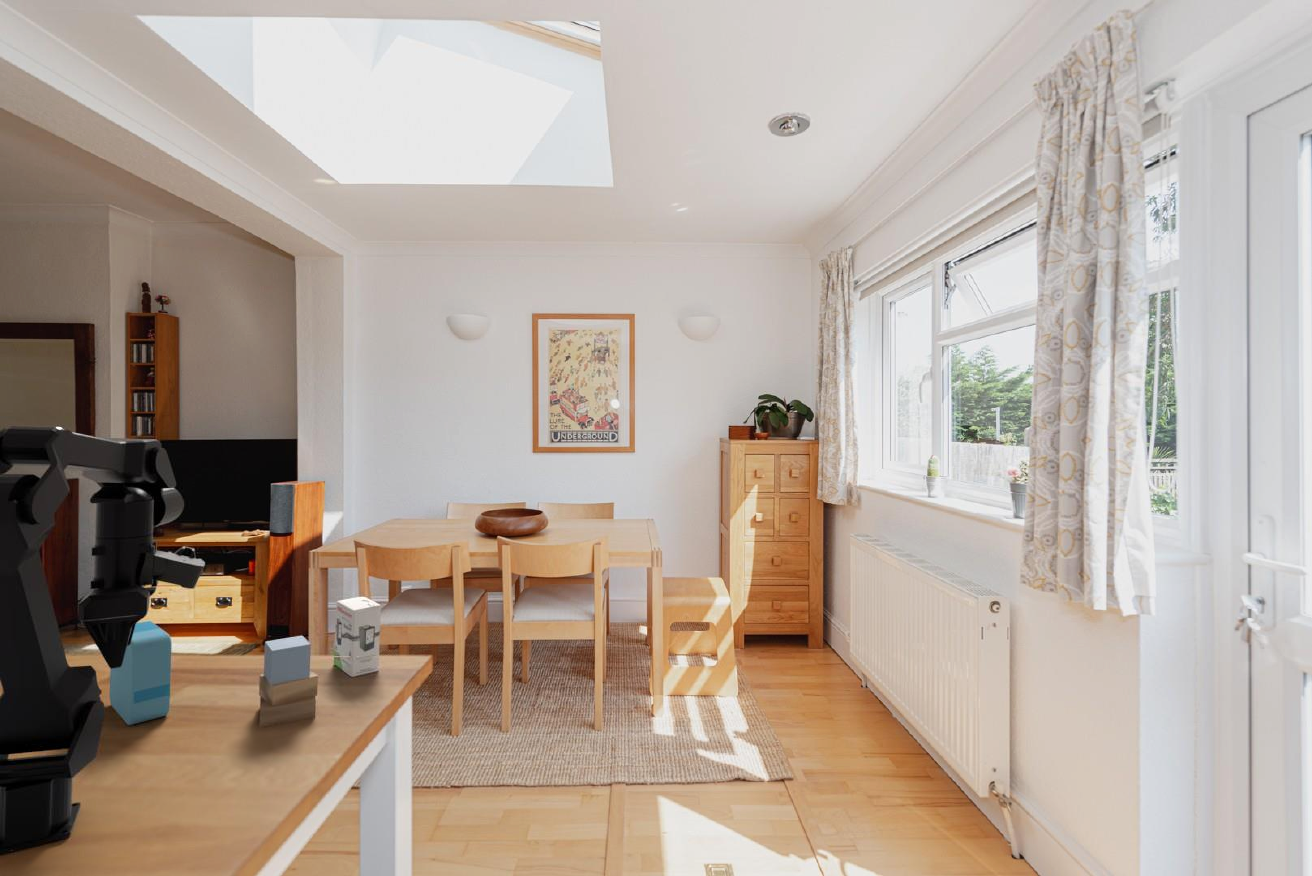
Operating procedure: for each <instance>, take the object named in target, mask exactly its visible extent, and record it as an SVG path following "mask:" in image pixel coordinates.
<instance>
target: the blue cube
mask: <svg viewBox="0 0 1312 876" xmlns="http://www.w3.org/2000/svg"><path fill="white" fill-rule="evenodd" d="M311 645H312V644H311V643H310V642H309V641H308V639H306V637H304V636H303V635H296V636H291V637H285V638H280V639H279V638H278V639H273V640H267V641H265V642H264V655H263V656H264V658H263V659H264V664H263V674H264V676H265V677H266V679H267V680H268V682H269V683H270V685H276V684H281V683H286V682H290V681H295V680H300V679H305V678H310V670H311V650H312V649H311V647H312V646H311Z"/></svg>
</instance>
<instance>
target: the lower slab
mask: <svg viewBox="0 0 1312 876" xmlns="http://www.w3.org/2000/svg"><path fill="white" fill-rule="evenodd" d="M259 696H260V695H259ZM259 698H260V699H259V701H260V703H259V728H262V727H268V726H272V725H278V724H285V723H289V722H290V723H291V722H295V721H301V720H307V719H312V718H316V711H317V710H316V707H317V706H316V704H317V699H316V696H313V697H309V698H306V699H302V700H298V701H294V702H291V703H287V704H283V705H280V706H276V707H272V706H271V705H269V704H268V703H267V702H266V701H265V700H264V699H263V698H262V697H261V696H260V697H259Z"/></svg>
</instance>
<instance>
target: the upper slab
mask: <svg viewBox="0 0 1312 876" xmlns="http://www.w3.org/2000/svg"><path fill="white" fill-rule="evenodd" d="M318 680H319V675H318V674H316V673H315V672H314V671H312V670H311V669H310V678H305V679H300V680H295V681H290V682H286V683H281V684H276V685H270V683H269V682H268V680H267V679H266V677H265V676H264V673H262V674H259V683H258V684H259V685H258V695H259V696H261V697H262V698H263V699H264V700H265V701H266V702H267V703H268V704H269V705H271V706H272V707H276V706H280V705H283V704H287V703H291V702H294V701H298V700H302V699H306V698H309V697H313V696H315V697H317V696H318V686H319V683H318V682H319V681H318Z"/></svg>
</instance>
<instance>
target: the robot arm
mask: <svg viewBox="0 0 1312 876" xmlns="http://www.w3.org/2000/svg"><path fill="white" fill-rule="evenodd" d="M14 466H21V467H22V466H28V467H29V466H30V467H31V466H32V467H34V466H36V467H46V468H47V469H46V470H45V472H44V473H43V474H42V476H41V477H39V476H37V475H36V474H34V473H33V474H32V473H31V474H28V473H27V474H26V473H25V474H24V473H22V474H21V473H18V474H17V473H15V474H14V473H8V472H9V471H10V470H11V469H12V468H13V467H14ZM65 469H66V470H72V471H74V470H75V471H80V472H82V474H81V475H82V476H83V478H85V479H88V480H91V481H93V482H95V484H97V485H98V486H99V487H100V489H99V490H98V491H96V492H94V493H93V494H92V496H91V497H90V498H89V503H90V504H95V525H94V526H95V527H94V529H95V531H94V545H93V546H92V547H91V557H94V558H93V559H94V562H93V563H94V564H93V578H92V579H91V580H90V590H91V591H90V592H88V593H87V594H86V595H85V596H83V598H82V599H81V600H80V602H79V603H78V605H77V607H78V609H77V611H78V613H77V621H80V623H81V625H82V626H84V628H85V629H86V631H87V633H88V634H89V636H90V638H91V639H92V640H93V642H94V644H95V645H96V647H97V648H98V650H99V651H100V654H101V655H102V657H103V659H104V660H105V663H106V664H107V666H108V668H109V669H110V668H111V669H112V668H119V667H121V666H122V663H123V660H124V656H125V652H126V648H127V646H129V645H130V644H131V640H132V636H133V633H134V629H135V626H136V623H139V621H141V620H142V619H144V618H145V617H146V616H147V615H148V612H149V608H150V597H151V596H153V595H154V594H155V593H156V590H157V587H158V584H159V582H163V583H167V584H172V585H177V586H180V587H181V588H184V589H187V590H189V589H191V590H192V589H193V590H194V589H195V588H196V585H197V583H198V580H199V579H200V577H201V574H202V572H203V570H204V569H205V565H206V562H205V561H204V560H203V559H202V558H197V557H196V549H195V548H194V547H189V546H184V545H183V546H181V547H180V548H179V549H178V550H176V551H175V552H174V553H173V551H168V552H166V551H162V550H158V549H157V546H158V545H157V544H158V543H157V541H155V538H154V534H153V533H154V528H155V527H159V526H162V525H165V524H169V523H170V522H171V523H172V522H173V521H174V520H176V519H177V518H179V517H180V516H181V514H182V512H183V511H184V507H185V500H184V498H183V496H182V494H181V493H180V492H179V490H177V489H176V487H177V481H176V478H175V474H174V471H173V468H172V464H171V462H170V459H169V455H168V452H167V450H166V449H165V448H164V447H162V443H161V442H160V441H159V440H157V439H155V438H128V437H127V438H126V437H125V438H121V437H119V438H118V437H117V438H116V437H97V436H92V435H87V434H83V433H77V432H73V431H71V430H69V429H64V428H63V427H61V426H40V425H39V426H38V425H36V426H35V425H31V426H30V425H12V426H10V427H5V428H4V427H3V428H2V429H1V430H0V687H1V689H2V693H1V695H0V853H2V854H5V853H4V852H6V853H10V852H12V851H11V850H14V851H17V850H21V849H26V848H30V847H33V846H37V845H42V844H46V843H49V842H54V841H58V840H62V839H66V838H68V837H70V836H71V835H72V832H73V829H74V826H75V824H76V821H77V819H78V816H79V813H80V810H81V808H82V807H81V806H82V805H81V802H77V801H76V802H72V801H73V778H74V777H75V776H76V775H77V774H79V773H80V772H81V771H83V769H85V767H86V766H87V765H88V764H90V763H91V762H92V761H93V760H94V759H95V758H96V757H97V756H98V755H97V754H98V749H99V744H100V739H101V734H102V729H103V724H104V719H105V713H106V708H105V707H106V706H105V704H104V702H103V700H102V699H101V695H102V692H103V691H102V689H101V688H100V686H99V684H98V677H97V671H96V669H95V668H94V667H93V666H92V665H78V666H77V665H76V666H70V665H69V663H68V660H67V657H66V653H65V647H64V646H63V640H62V637H61V633H60V629H59V626H58V625H59V624H58V621H57V617H56V613H55V609H54V606H53V602H52V597H51V593H50V589H49V586H48V581H47V579H46V574H45V570H44V567H43V562H42V559H41V554H40V553H41V552H40V549H41V548H42V546H43V544H44V542H45V541H46V540H47V537H48V536H49V535H50V533H51V532H52V530H53V529H54V527H55V525H56V519H55V513H56V512H57V510H58V508H59V507H60V506H61V505H62V503H63V502H64V500H65V499H66V498H67V497H68V495H69V493H70V491H71V488H70V486H69V483H68V480H67V476H66V473H65ZM144 586H148V587H144ZM58 750H59V751H60V750H67V751H66V753H60V754H59V753H58V754H57V753H56V754H49V755H48V754H47V755H36V756H27V757H16V758H9V756H10V755H16V754H26V753H27V754H28V753H37V752H49V751H58ZM9 851H10V852H9Z"/></svg>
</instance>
